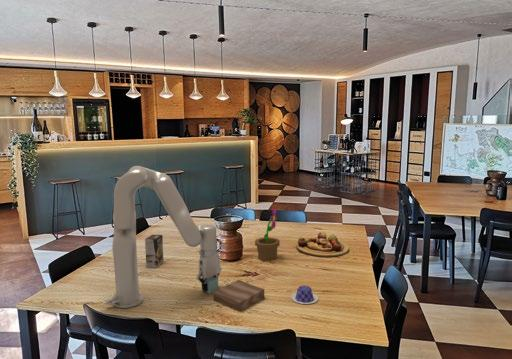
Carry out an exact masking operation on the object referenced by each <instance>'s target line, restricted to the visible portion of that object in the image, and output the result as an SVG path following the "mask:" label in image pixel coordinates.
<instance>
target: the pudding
mask: <svg viewBox="0 0 512 359" xmlns="http://www.w3.org/2000/svg"><path fill="white" fill-rule="evenodd" d="M290 299H291V300H292V301H294V302H295V303H297V304H302V305H303V304H304V305H311V304H314V303H316V302H318V301H319V296H318V295H317V294H316V293H313V290H312V288H311V287H310V286H308V285H305V284H304V285H300V286H298V288H297V291H296V292H294V293H292V294H291V295H290Z"/></svg>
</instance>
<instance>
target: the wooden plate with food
mask: <svg viewBox="0 0 512 359" xmlns="http://www.w3.org/2000/svg"><path fill="white" fill-rule="evenodd" d="M295 247H296V250H297V251H299V252H300V253H302V254H304V255H306V256H309V257H315V258H325V259H326V258H329V259H330V258H338V257H342V256H345V255H347V253H348V252H349V250H350V247H349V246H348V244H346V243H345V242H343V241H340V240H339V239H338V237H337V236H336V235H335V234H331V235H329V236H328V237H327V234H326V232H323V231H319V233H318V234H317V237H307V238H304V237H303V236H302V237H299V238H298V239H297V243H296V244H295Z"/></svg>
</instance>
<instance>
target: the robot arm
mask: <svg viewBox="0 0 512 359" xmlns="http://www.w3.org/2000/svg"><path fill="white" fill-rule="evenodd" d="M142 187H144V188H147V189H149V190H154V191H155V193H156V195H157V197H158V198H159V200H160V202H161V203H162V205H163V208H164V209H165V211H166V212H167V214H168V216H169V218H170V219H171V220H172V222H173V223H174V225H175V227H176V229H177V230H178V232H179V234H180V236H181V238H182V239H183V241H184V243H185V244H186V246H188V247H190V248H197V247H198V246H199V248H200V251H199V254H198V255H199V259H198V274H197V275H196V278H195V279H196V280H197V281H199V282H200V283H202V286H201V291H202V290H203V292H204V293H207V291H208V287H207V283H206V282H207V278H209V277H212V276H213V277H216V278H218V279H219V276H220V274H221V272H222V271H223V268H222V267H221V260H220V255H219V253H218V248H217V247H218V246H217V245H218V244H217V242H218V241H217V227H216V226H215V225H214V224H203V225H196V223H195V222H194V219H193V217H192V216H191V214H190V212H189V209H188V206H187V205H186V203H185V201H184V199H183V198H182V195H181V194H180V192H179V191H178V189H177V187H176V185H175V182H173V180H172V179H171V176H169V175H168V174H165V173H162V172H159V171H157V170H153V169H150V168H147V167H144V166H142V165H134V166H132V167H130V168H129V169H128V171H127V172H126V173H124V174H123V175H122V176H121V177H120V178H118V180H117V182H116V183H115V186H114V190H113V214H112V220H113V221H112V222H113V239H112V245H111V246H112V247H111V248H112V257H113V269H114V280H115V293H114V294H113V296H112V297H111V298H107V299H106V300H105V304H106V305H110V304H111V305H113V306H114V307H115V308H118V309H129V308H133V307H136V306H139V305H140V304H142V303H143V301H144V295H142V294H141V293H140V285H139V284H140V283H139V271H138V270H139V268H138V258H137V257H138V252H137V249H138V248H137V211H136V205H135V204H136V192H137V191H138V190H139V189H141V188H142ZM204 278H205V279H204Z"/></svg>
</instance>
